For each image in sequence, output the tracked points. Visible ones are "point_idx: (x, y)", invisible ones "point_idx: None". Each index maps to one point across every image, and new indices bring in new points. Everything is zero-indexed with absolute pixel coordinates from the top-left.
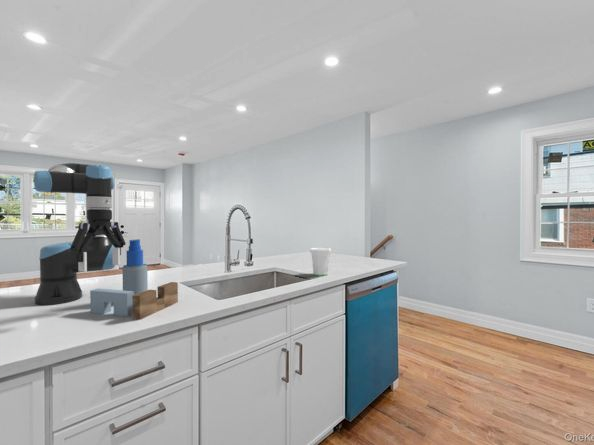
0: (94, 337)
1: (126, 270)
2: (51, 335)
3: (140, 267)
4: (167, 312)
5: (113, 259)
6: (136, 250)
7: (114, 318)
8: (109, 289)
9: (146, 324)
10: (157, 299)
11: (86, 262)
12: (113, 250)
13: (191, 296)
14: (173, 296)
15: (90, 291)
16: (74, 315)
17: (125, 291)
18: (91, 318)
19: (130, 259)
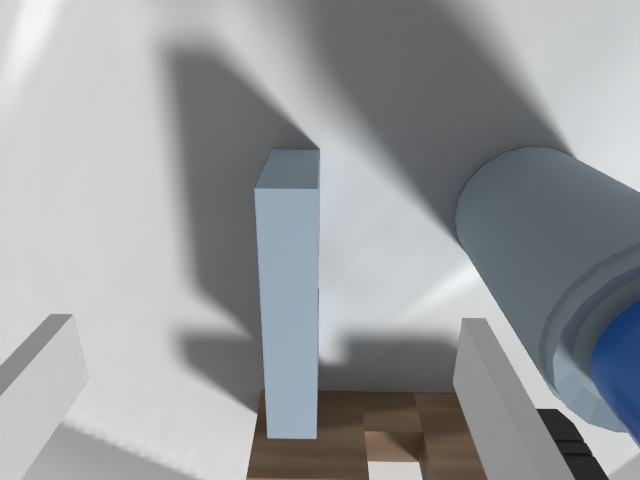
0: (77, 396)
1: (536, 329)
2: (9, 247)
3: (596, 419)
4: None
5: (480, 369)
6: None
7: (242, 323)
8: (314, 289)
9: (231, 462)
10: (386, 451)
11: (38, 449)
12: (526, 472)
13: None
14: None
15: (255, 188)
16: (209, 102)
17: (301, 403)
18: (207, 230)
19: (631, 417)
